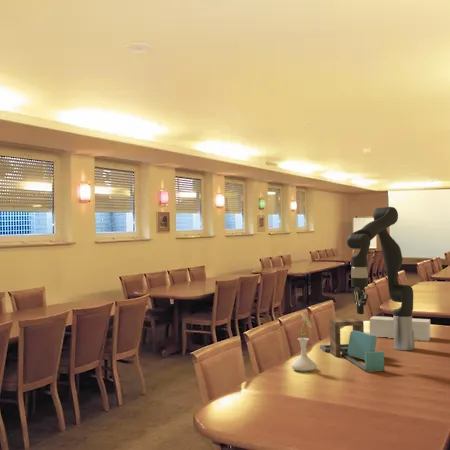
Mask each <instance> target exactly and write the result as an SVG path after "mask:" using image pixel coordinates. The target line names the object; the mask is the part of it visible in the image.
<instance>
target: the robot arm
mask: <svg viewBox="0 0 450 450" xmlns="http://www.w3.org/2000/svg"><path fill="white" fill-rule="evenodd" d="M398 219H399V213H398V210H397V208H395V207H394V206H385V207H378V208H377V207H376V208H375V209H374V211H373V221H370V222H368V223H367V224H365V225H364V226H363V227H362V228H361V229H359V230H356V231H354V232H352V233H350V234H349V235H348V236H347V240H346V244H347V246H348V247H349V248H350V249H353V250H359V252H358V253H354V254H352V255H351V268H350V269H351V270H350V275H351V276H350V277H351V278H350V279H351V280H350V281H351V287H352V288H354V290H353V291H352V292H351V293H352V297H353V302H354V304H355V305H356V313H357V314H358V315H364V312H365V311H364V310H365V309H364V307H365V306H366V305H367V302H368V297H369V294H366V288H368V286H369V276H368V275H369V273H368V255H369V251H370V246H371V241H372V240H373V239H374V238H375V237H376V236H378V239H379V242H380V248H381V251H382V252H381V254H382V257H383V261H384V265H385V272H386V278H387V286H388V294H389V297H390V299H391V301H392V302H395V303H401V306H400V307H398V308H395V309H393V318H394V339H393V348H394V349H395V350H398V351H413V350H415V348H416V347H415V340H414V331H413V330H412V318H413V311H414V290H413V287H412V286H411V285H407V284H400V283H399V278H398V275H399V271H400V269H401V267H402V265H403V255H402V250H401V247H400V245H399V244H398V243H397V242H396V240H395V239H394V238H393V237H392V236H391V235H390V233H389V232H388V230H387V228H389V227H391V226H393V225H395V224H396V223H397V222H398Z"/></svg>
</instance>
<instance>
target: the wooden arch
mask: <svg viewBox="0 0 450 450" xmlns="http://www.w3.org/2000/svg"><path fill="white" fill-rule="evenodd" d="M348 326H349V327H350V326H351V327H352V331H360V332H364V330H365V329H364V327H365V325H364V320H362V319H360V318H342V319H341V318H337V319H333V318H332V319H329V345H330V352H329V353H330V355H332V356H333V357H336V358H341V357H342V351H341V346H340V344H341V327H348ZM364 333H365V332H364Z"/></svg>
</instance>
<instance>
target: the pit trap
mask: <svg viewBox="0 0 450 450" xmlns="http://www.w3.org/2000/svg"><path fill="white" fill-rule="evenodd" d="M348 345H349V343H342V344H341V343H340V346H341V352H342V348H348ZM319 349H320V350H321V349H322V350H321V351H323V352H325V353H330V344H322V345H321V344H320V345H319Z"/></svg>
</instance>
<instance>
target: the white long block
mask: <svg viewBox="0 0 450 450" xmlns="http://www.w3.org/2000/svg"><path fill="white" fill-rule="evenodd" d="M412 330H413V331H414V341H418V340H420V341H421V342H429V341H430V340H431V334H432V333H431V319H430V318H429V319H428V318H413V317H412ZM369 334H372V335H375V336H378V337H388V338H387V339H391V338H394V318H393V317H392V316H379V315H377V316H376V315H373V316H371V317H370V318H369ZM378 337H377V338H378ZM420 341H419V342H420Z"/></svg>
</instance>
